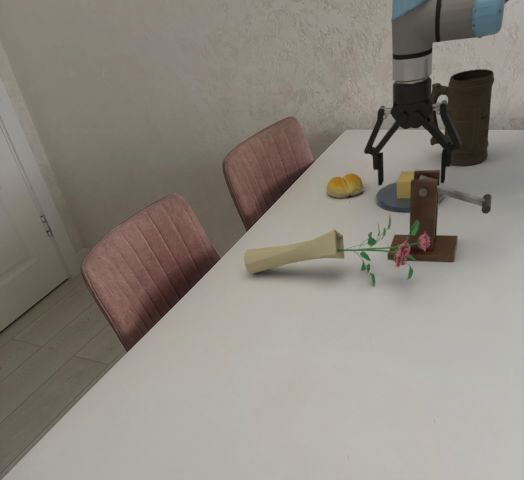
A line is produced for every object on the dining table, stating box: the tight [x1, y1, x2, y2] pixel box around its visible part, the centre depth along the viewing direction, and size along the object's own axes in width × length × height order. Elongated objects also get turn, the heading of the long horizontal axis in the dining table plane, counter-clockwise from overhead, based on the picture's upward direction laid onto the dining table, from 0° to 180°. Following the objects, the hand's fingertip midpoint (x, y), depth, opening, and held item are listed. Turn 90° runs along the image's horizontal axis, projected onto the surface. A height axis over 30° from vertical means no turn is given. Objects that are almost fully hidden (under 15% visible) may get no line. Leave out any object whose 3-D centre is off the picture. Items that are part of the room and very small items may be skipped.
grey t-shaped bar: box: [419, 175, 493, 215], centre depth 88 cm, size 13×5×2 cm, turn 69°
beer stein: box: [429, 68, 495, 167], centre depth 123 cm, size 15×11×20 cm
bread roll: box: [325, 173, 364, 199], centre depth 123 cm, size 8×9×4 cm
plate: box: [375, 182, 445, 213], centre depth 115 cm, size 15×15×1 cm
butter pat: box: [396, 170, 416, 199], centre depth 114 cm, size 6×4×4 cm
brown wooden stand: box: [387, 169, 459, 263], centre depth 92 cm, size 12×8×15 cm, turn 69°
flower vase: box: [243, 215, 430, 287], centre depth 92 cm, size 12×12×35 cm
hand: (411, 182), depth 113 cm, fingers open, 13 cm apart
